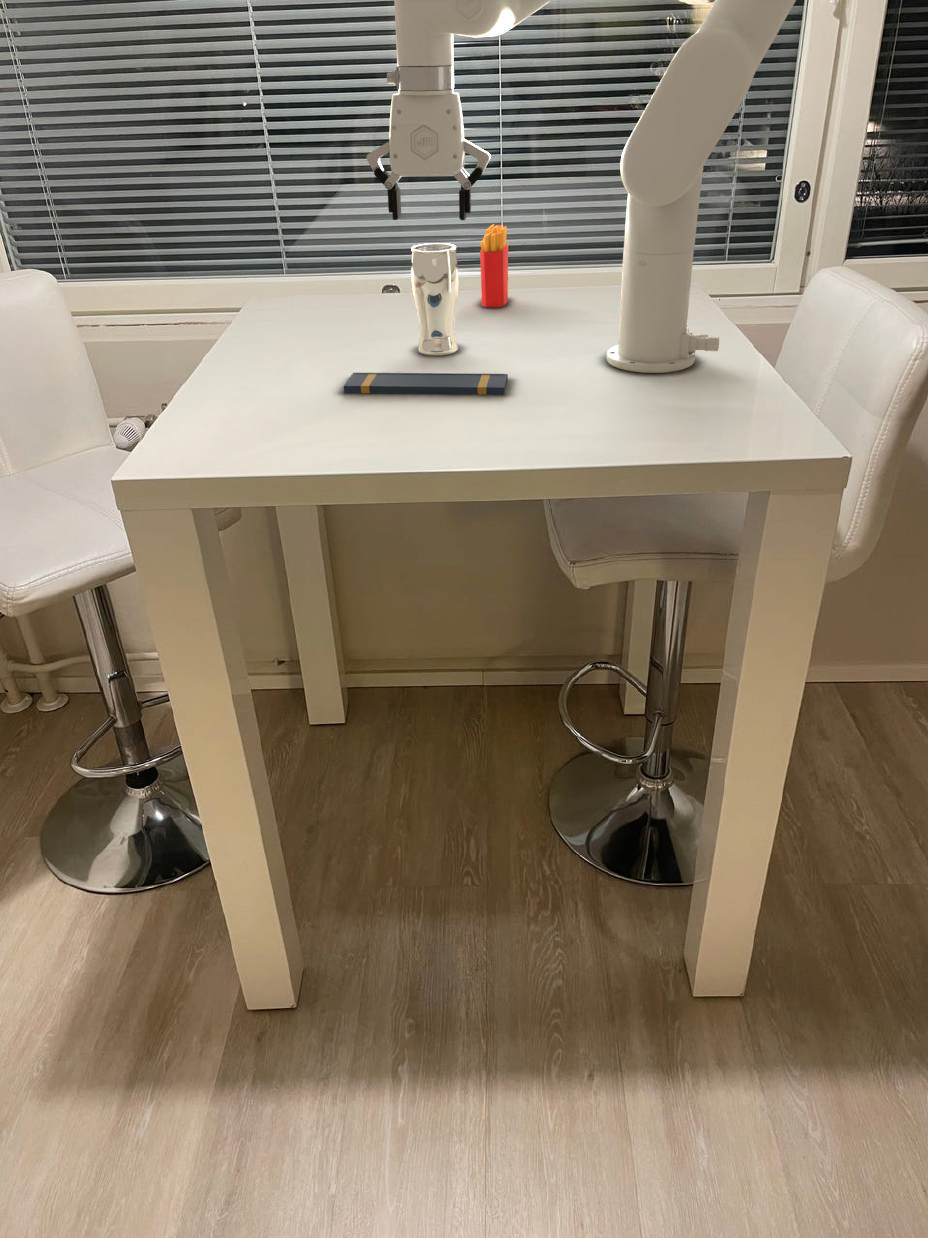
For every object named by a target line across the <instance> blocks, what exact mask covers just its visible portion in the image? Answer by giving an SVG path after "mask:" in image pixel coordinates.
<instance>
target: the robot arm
mask: <svg viewBox="0 0 928 1238" xmlns="http://www.w3.org/2000/svg"><path fill="white" fill-rule="evenodd" d="M393 1H394V22H395V23H394V24H395V25H394V27H395V45H396V46H395V47H396V67H395V68H396V69H395V70H393V71H391V72H389V71H388V72H387V73H386V82H387V84H389V85H390V84H392V85H393V86H394V85H395V87H396V90H397V91H398V93H393V94H392V96H391V102H390V103H391V104H390V113H389V114H390V116H389V141H387V142H385V143H383V144H382V145H381V146H379V147H377V148H375V149H374V150H372V151H371V152H369V153H367V155H366V157H365V158H366V161H367V162H368V164H369V166H370V168H371V170H372V171H373V175H374V177H375V178H377V179H378V181H379V182H380V183H381V184H382V185H383V186H384V188H385V189H386V190H387V206H388V207H387V209H388V213H389V214H392V220H393V221H397V220H399V219H400V218H401V217H402V201H401V199H402V198H401V188H400V186H399V184H398V183H399V181H400V180H401V178H402V177H404V176H405V177H449V176H454V178H455V180H457V182H458V183H459V185H460V189H459V190H458V210H459V211H458V212H459V213H458V214H459V216H458V217H459V220H460V221H466V219H467V217H468V214H471V213H472V187H473V186H474V184H475V183H476V182H478V180H480V179H481V177H482V176H483V174H484V172H485V170H486V168H487V165H488V163H489V161H490V159H491V154H490V153H489V152H488V151H487V150H484V149H482V148H481V147H479V146H478V145H475V144H474V143H473V142H470V141H468V140H467V139H465V129H464V120H463V119H464V118H463V111H462V104H461V98H460V93H459V92H455V89H454V88H455V78H454V77H455V76H454V75H455V73H454V72H455V70H454V67H455V66H454V35H458V36H463V37H470V38H484V37H497V36H500V35H503V34H505V33H506V32H509V31H510V30H511V29H513V28H514V27H516V26H517V25H519V24H520V23H522V22H523V21H525V20H526V19H527V18H529V17H530V16H532V15H533V14H535V13H536V12H537V11H539V10H541V9H542V8H543V7H544V6H546V5H548V3H550V2H551V1H552V0H393ZM796 1H797V0H714V2H713V4H712V5H711V7H710V9H709V11H708V12H707V14H706V16H705V18H704V20H702V21H703V22H702V23H701V25H700V26H699V28H698V30H697V31H695V33H694V34H692V35H691V36H689V37H688V38H687V39H686V40H685V41H684V42H683V43H682V45H681V46H680V47H679V48H678V50H677V51H676V53H675V54H674V56H673V58H672V59H671V61H670V62H669V65H668V66H667V68H666V69H665V72H664V74H663V75H662V77H661V79H660V81H659V83H658V85H657V87H656V89H655V90H654V92H653V94H652V95H651V96H650V97H651V98H650V100H649V101H648V103H647V105H646V107H645V109H644V110H643V112H642V114H641V116H640V118H639V120H638V121H637V123H636V125H635V126H634V129H633V130H632V132H631V134H630V136H629V137H628V140H627V142H626V144H624V145H625V146H624V148H623V151H622V153H621V158H620V165H619V167H620V168H619V171H620V178H621V183H622V184H623V187H624V189H625V190H626V193H627V202H626V212H625V225H624V237H623V238H624V240H623V252H622V253H623V254H622V268H621V269H622V270H621V287H620V288H621V290H620V305H619V321H618V322H619V323H618V340H617V341H618V342H617V343H618V344H616V345H614V346H612V347H610V348H609V349H608V350H607V352H606V361H607V363H608V364H610V365H611V366H612V367H615V368H617V369H620V370H623V371H628V372H634V373H645V374H663V373H672V372H673V373H674V372H679V371H682V370H685V369H688V368H689V367H691V366H693V364H695V360H696V351H704V352H718V351H719V347H720V337H719V336H709V334H705V333H704V334H703V333H701V334H693V333H692V332H690V330H689V325H688V319H689V318H688V316H689V307H690V296H691V287H692V286H691V285H692V284H691V283H692V273H693V265H694V264H693V262H694V255H695V254H694V253H695V249H696V248H695V247H696V237H697V236H696V235H697V225H698V215H699V206H700V199H701V190H702V181H703V176H704V175H703V174H704V166H705V163H706V162H707V160H708V159H709V157H710V156H711V155H712V152H713V151H714V149H715V147H716V146H717V144H718V143H719V141H720V139H721V138H722V136H723V134H724V133H725V131H726V129H727V127H728V126H729V125H730V123H731V121H732V119H733V117H734V116H735V115H736V113H737V111H738V109H739V107H740V106H741V104H742V103H743V101H744V99H745V98H746V96H747V94H748V92H749V90H750V87H751V85H752V82H753V79H754V76H755V75H756V72H757V70H758V68H759V66H760V64H762V63H761V62H762V61H763V59H764V58H765V56H766V54H767V52H768V51H769V49H770V48H771V45H772V44H773V42H774V40H775V39H776V37H777V35H778V34H779V32H780V30H781V28H782V26H783V24H784V22H785V21H786V19H787V17H788V15H789V13H790V12H791V10H792V8H793V6H794V5H795V3H796ZM388 154H389V166H390V169H391V173H390V174H389V172H388V171H386V170H385V169H386V168H384V167H383V165H382V163H381V158H382V157H384V156H386V155H388ZM466 154H468V155H470V156H471V157H474V158H475V159H476V160H477V164H476V166H475V168H474V169H473V171H472V172H471V173H470V174H469V173H468V172H467V170H466V169H465V163H466Z"/></svg>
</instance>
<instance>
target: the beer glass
mask: <svg viewBox="0 0 928 1238" xmlns="http://www.w3.org/2000/svg"><path fill="white" fill-rule="evenodd" d="M410 249H411V255H410V256H411V257H410V258H411V259H410V264H411V265H410V275H411V288H412V294H413V299H414V304H415V309H416V313H417V318H418V323H419V338H418V347H417V349H418V350H417V351H418V352H419V353H420V354H422V355H425V356H435V357H436V356H447V355H451V354H454V353H456V352H457V351H458V349H459V346H458V342H457V341H458V340H457V337H456V336H457V335H456V331H455V329H456V328H455V319H456V309H457V303H458V294H459V265H458V256H457V255H458V254H457V246H456V245H454V244H451V243H443V242H442V243H439V242H438V243H437V242H436V243H432V242H431V243H423V244H418V245H413V246H412V247H411V248H410Z"/></svg>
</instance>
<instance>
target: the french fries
mask: <svg viewBox="0 0 928 1238" xmlns="http://www.w3.org/2000/svg"><path fill="white" fill-rule="evenodd" d="M507 235H508V227H507V225H505V226H504V225H503V224H498V225H495V223H493V224H492V225H490V226H489V227H488V228H487V229H485V234H484V236H483V239H482V240H481V241H480V249H479V263H480V288H481V290H480V291H481V306H482V307H484V308H501V307H504V306H505V305H506V304H507V303H508V300H509V243H507Z"/></svg>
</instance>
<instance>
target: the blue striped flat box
mask: <svg viewBox="0 0 928 1238" xmlns="http://www.w3.org/2000/svg"><path fill="white" fill-rule="evenodd" d="M508 381H509V374H508V373H466V372H465V373H463V372H461V373H460V372H459V373H457V372H455V373H453V372H451V373H449V372H442V373H441V372H352V373H351V375H350V376H349V377H348V379H347V380H346V382H345V383H344V385H343V393H344V394H400V395H401V394H405V395H407V394H409V395H411V394H413V395H415V394H416V395H480V396H481V395H483V396H484V395H485V396H486V395H491V396H493V395H495V396H496V395H497V396H499V395H500V396H501V395H502V396H504V395H505V393H506V389H507V385H508Z"/></svg>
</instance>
